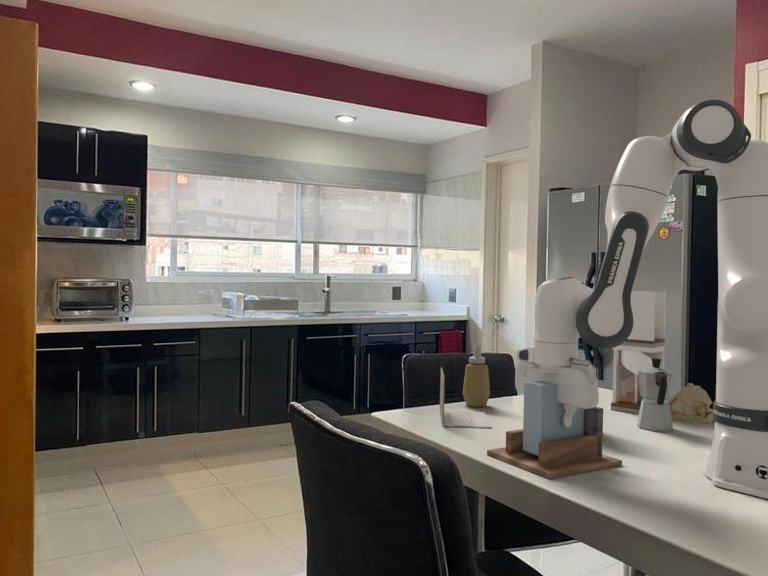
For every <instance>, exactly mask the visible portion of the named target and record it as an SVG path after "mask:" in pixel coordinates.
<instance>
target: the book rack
mask: <svg viewBox="0 0 768 576" xmlns="http://www.w3.org/2000/svg"><path fill="white" fill-rule="evenodd" d="M603 434H604V408H603V407H599V406H596V407H595V408H589V409H584V431H583V436H577V437H570V438H563V439H557V440H550V441H543V442H539V451H538V455H535V454H532V453H529V452H527V451H524V450H523V428H521V429H513V430H507V431H505V447H504V446H503V447H498V448H492V449H491V448H490V449H486V456H489V457H492V458H494V459H496V460H499V461H502V462H505V463H508V464H509V465H512V466H515V467H517V468H519V469H522V470H525V471H527V472H530V473H532V474H535V475H537V476H540V477H542V478H544V479H548V480H553V479H558V478H564V477H569V476H572V475H573V476H574V475H578V474H584V473H589V472H590V473H591V472H593V471H600V470H604V469H611V468H615V466H616V467H620V465H621V466H623V460H622V459H619V458H616V457H613V456H610V455H607V454H604V453H603V440H604V439H603V438H604V437H603V436H604V435H603ZM610 467H611V468H610Z"/></svg>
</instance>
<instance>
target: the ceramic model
mask: <svg viewBox="0 0 768 576" xmlns="http://www.w3.org/2000/svg"><path fill="white" fill-rule="evenodd" d="M668 403H669V404H670V411H671V418H672V421H675V422H680V423H685V424H698V425H699V424H706V423H707V424H708V423H713V408H710V407H711V405H713V402H712V398H711V397H710V396H709V394H708V393H707V391H706V390H705V389H703V388H702V387H701V385H694V383H692V382H689V383H686V386H683V387H681V388H680V390H679V391H677V392H676V394H675V395H673V396H671V397H670V398H669V399H668Z"/></svg>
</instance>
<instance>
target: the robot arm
mask: <svg viewBox="0 0 768 576" xmlns="http://www.w3.org/2000/svg"><path fill="white" fill-rule="evenodd" d="M751 139H752V134H751V131H750V130H749V129H748V126H747V125H746V124H745V123H744V122H743V119H742V117H741V115H740V113H739V112H738V111H737V109H736V108H735V107H734V106H733V105H732V104H730V103H729V102H727V101H725V100H722V99H706V100H703V101H700V102H697V103H696V104H694V105H692V106H690V107H688V109H686V110H685V111H684V113H682V115H681V116H680V118H679V119H678V120H677V121H676V123H675V125H674V126H673V128H672V130H671V132H670V133H669V134H667V135H665V136H655V135H645V136H639V137H636V138H635V139H633V140H631V141H630V142H629V143H628V144H627V146H626V148H625V150H624V151H623V154H622V155H621V158H620V160H619V162H618V164H617V166H616V168H615V171H614V173H613V174H614V175H613V176H612V180H611V183H610V187H609V190H608V194H607V199H606V203H605V210H604V213H605V214H604V223H605V228H606V232H607V244H606V249H605V254H604V257H603V261H602V264H601V268H600V271H599V275H598V279H597V282H596V285H595V287H594V288H591V287H589V286H588V285H585V284H584V283H582V282H581V281H579V280H577V279H576V277H573V276H564V277H558V278H552V279H551V278H550V279H547V280H544V281H543V282H541V284H540V285H538V287H537V289H536V295H535V299H534V300H535V301H534V313H533V314H534V318H533V319H534V324H535V333H534V337H533V345H531V346H528V347H525V348H521V349H518V350H516V353H515V358H516V360H517V361H518V362H517V363H516V365H515V374H514V375H515V376H514V387H515V389H516V391H517V393H518V394H521V395H524V382H530V381H544V382H549V383H553V384H558V392H557V401H558V403H562V404H564V409H565V410H566V412H565V414H564V416H562V417H560V425H562V426H566V427H568V426H571V424H572V417H573V415H574V413H575V412H576V410H577V407H578V408H583V409H589V408H595V407H598V404H599V398H600V397H599V386H598V380H597V379H598V378H597V377H596V376H597V374H596V371H597V369H596V367H595V365H594V364H592V363H591V361H589V360H588V359H587V360H585V359H584V360H583V359H579V358H578V357H579V339H580V338H581V339H582V340H583V341H584V342H585V343H586V344H588V345H589V346H591V347H594V348H596V349H600V350H609V349H610V350H611V349H612V348H614V347H617V346H619V345H621V344H622V343H623V342H625V341H626V340H627V338H628V337H629V336H630V334H631V332H632V329H633V313H632V308H631V293H632V291H633V288H634V285H635V281H636V278H637V275H638V274H637V273H638V270H639V266H640V263H641V259H642V256H643V252H644V250H645V248H646V246H647V244H648V242H649V240H650V239H651V238H652V235H653V233H654V232H655V230H656V228H657V226H658V224H659V223H660V220H661V218H662V216H663V213H664V211H665V209H666V206H667V203H668V199H669V197H670V193H671V189H672V186H673V183H674V181H675V178H676V177H677V175H683V174H684V175H686V174H699V173H703V172H705V171H706V172H707V171H709V170H710V171H711V172H712V175H714V177H715V180H716V185H717V262H718V263H717V270H718V271H717V273H718V274H717V275H718V276H717V278H718V279H717V280H718V286H717V287H718V288H717V289H718V291H717V292H718V293H717V295H718V297H717V328H716V329H717V330H716V332H717V334H716V344H717V345H716V380H715V381H716V384H715V400H714V401H713V402H712V409H713V422H712V427H713V433H712V434H713V435H712V436H713V437H712V443H711V449H710V453H709V456H708V461H707V464H706V466H705V469H704V472H703V474H704V475H705V476H706V477H707V478H709V479H710V480H711V483H712V485H714V486H715V487H719V488H723V489H727V490H731V491H734V492H740V493H743V494H746V495H751V496H755V497H759V498H762V499H767V500H768V142H767V141H764V140H753V139H752V140H751ZM590 366H591V367H590Z"/></svg>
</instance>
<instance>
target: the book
mask: <svg viewBox="0 0 768 576" xmlns="http://www.w3.org/2000/svg"><path fill="white" fill-rule="evenodd" d="M557 392H558V384H553V383H549V382H544V381H530V382H524V394H523V421H522V422H523V423H522V424H523V426H522V429H523V450H524V451H527V452H529V453H532V454H535V455H538V451H539V442H543V441H550V440H557V439H563V438H570V437H577V436H583V431H584V409H583V408H578V407H577V410H576V412H575V413H574V415H573V417H572V424H571V426H568V427H566V426H562V425H560V417H562V416H564V414H565V412H566V410H565V409H564V404H562V403H558V401H557Z"/></svg>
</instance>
